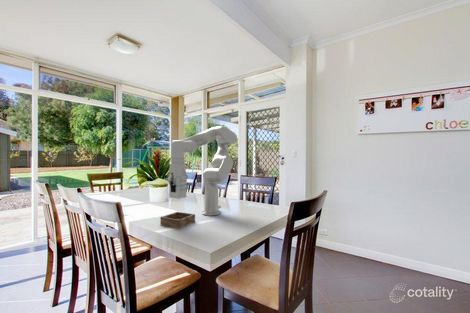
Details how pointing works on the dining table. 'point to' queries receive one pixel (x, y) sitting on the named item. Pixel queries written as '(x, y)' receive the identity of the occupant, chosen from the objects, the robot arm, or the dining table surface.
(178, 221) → the wooden shadow box
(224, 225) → the dining table surface
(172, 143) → the robot arm
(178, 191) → the supplement box
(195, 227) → the dining table surface
